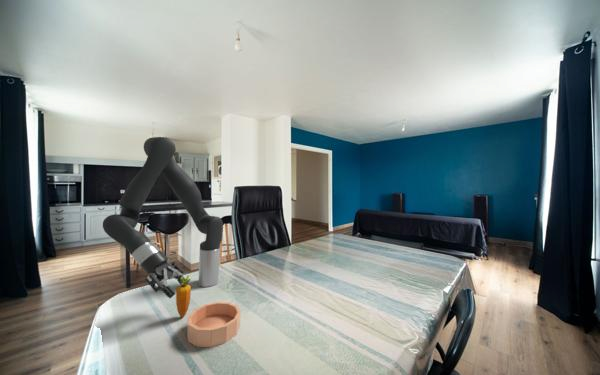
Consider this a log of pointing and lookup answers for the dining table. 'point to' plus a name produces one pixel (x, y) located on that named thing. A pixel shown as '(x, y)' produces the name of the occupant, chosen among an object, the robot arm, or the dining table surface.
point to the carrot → (183, 297)
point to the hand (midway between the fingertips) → (179, 290)
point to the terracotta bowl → (213, 324)
